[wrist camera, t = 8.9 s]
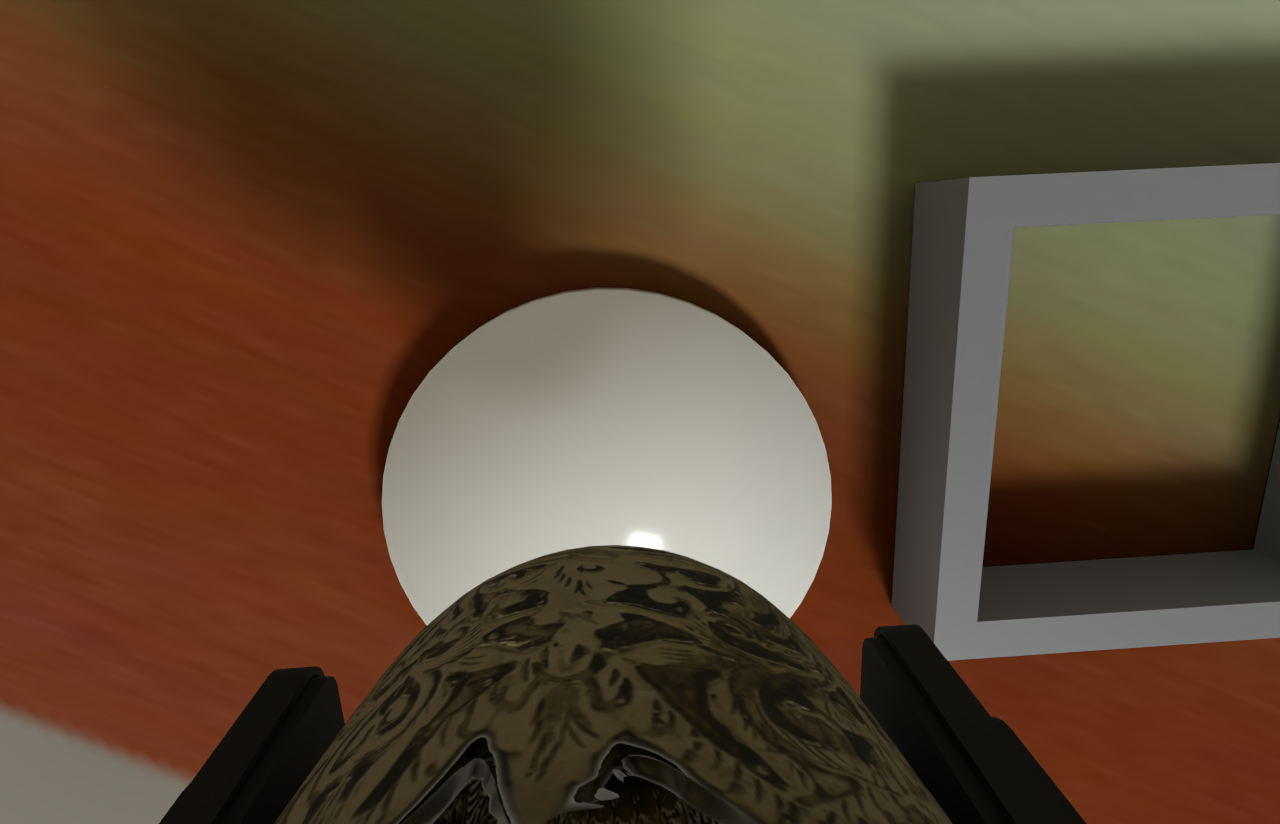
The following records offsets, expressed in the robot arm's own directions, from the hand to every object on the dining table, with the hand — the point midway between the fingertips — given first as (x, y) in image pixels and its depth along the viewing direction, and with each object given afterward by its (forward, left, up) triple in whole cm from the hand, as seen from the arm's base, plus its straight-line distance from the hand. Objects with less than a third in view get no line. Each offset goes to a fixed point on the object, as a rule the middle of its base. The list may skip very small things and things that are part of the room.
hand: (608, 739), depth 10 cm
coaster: (0, 0, -8) cm, 8 cm away
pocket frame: (-13, -2, -8) cm, 16 cm away
